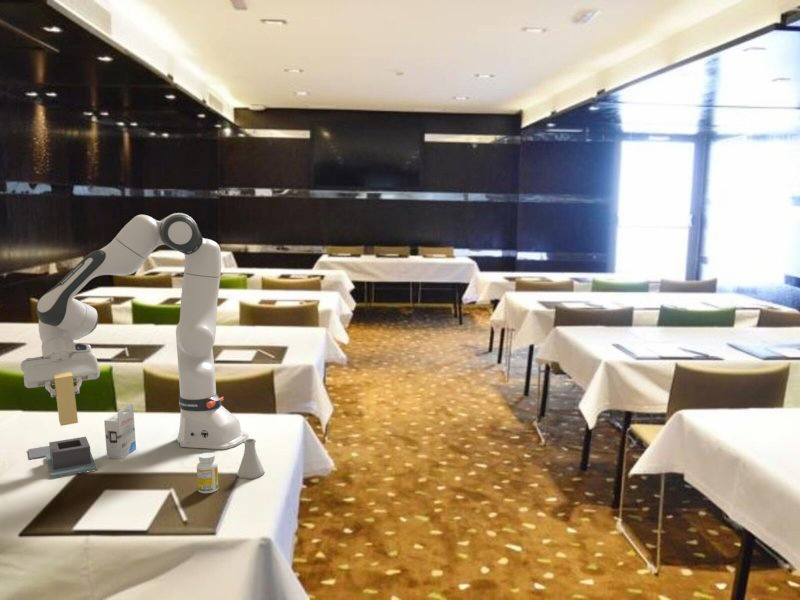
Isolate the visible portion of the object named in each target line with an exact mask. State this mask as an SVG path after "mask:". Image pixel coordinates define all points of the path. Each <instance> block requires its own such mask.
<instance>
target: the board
mask: <svg viewBox="0 0 800 600" xmlns="http://www.w3.org/2000/svg"><path fill="white" fill-rule="evenodd" d="M45 459H46V463H47V466H48V467H47V469H48V471H49V477H50V479H56V478H57V479H58V478H62V477H66V476H73V475H74V476H75V475H77V474H76V473H79V472H85V473H88V472H87V471H91V472H94V471H93V470H96V471H98V466H97V464H96V461H95V459H94V457H93V454H92V453H91V463H89V464H84V465H78V466H72V467H66V468H61V469H55V470H53V466H52V462H51V458H50V454H49V455H46V457H45ZM79 474H80V473H79Z"/></svg>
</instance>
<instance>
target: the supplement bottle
mask: <svg viewBox="0 0 800 600" xmlns="http://www.w3.org/2000/svg"><path fill="white" fill-rule="evenodd" d="M215 457H216V456H215V453H213V452H203V453H200V454H199V456H198V460H199V462H198V463H197V464H196V477H197V478H196V479H197V480H196V481H197V491H198V492H199V493H200V494H211V493H215V492H217V491H218V489H219V473H218V470H219V468H218V462H216V461H215Z"/></svg>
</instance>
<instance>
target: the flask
mask: <svg viewBox="0 0 800 600" xmlns="http://www.w3.org/2000/svg"><path fill="white" fill-rule="evenodd" d="M256 442H257V440H256V439H255V438H247V439H246V440H244V441H243V442H242V443H244V450H243V456H242V459H241V463H240V465H239V468H238V471H237V473H236V476H238V477H240V478H241V479H247V480H248V479H249V480H252V479H256V478H259V477H261V476H263V475H264V474H265V473H266V472H265V469H264V468H263V465H262V463H261V460H260V458H259V455H258V453H257V450H256V449H257V448H256Z"/></svg>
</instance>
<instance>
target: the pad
mask: <svg viewBox="0 0 800 600" xmlns="http://www.w3.org/2000/svg"><path fill="white" fill-rule="evenodd" d="M27 452H28V458H29V460H36V459H37V460H38V459H43V458H46V455H49V454H50V446H49V445H46V446H40V447H39V446H38V447H34V448H28V449H27Z"/></svg>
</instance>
